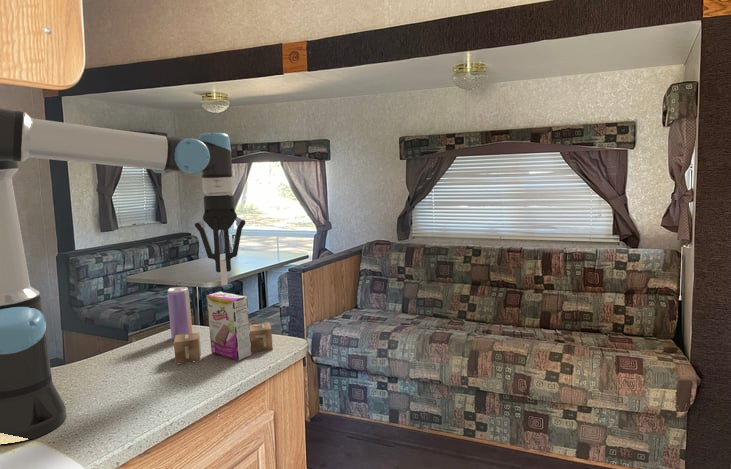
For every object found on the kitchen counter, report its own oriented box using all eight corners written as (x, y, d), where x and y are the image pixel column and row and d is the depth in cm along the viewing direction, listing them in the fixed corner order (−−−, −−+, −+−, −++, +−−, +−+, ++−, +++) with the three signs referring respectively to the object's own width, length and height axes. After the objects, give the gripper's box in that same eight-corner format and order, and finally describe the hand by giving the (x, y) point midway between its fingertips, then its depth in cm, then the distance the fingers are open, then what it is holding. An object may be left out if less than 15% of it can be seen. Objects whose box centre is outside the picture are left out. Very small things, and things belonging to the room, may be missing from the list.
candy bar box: (210, 353, 147) (205, 295, 144) (224, 348, 151) (220, 290, 148) (238, 361, 140) (233, 300, 138) (252, 355, 144) (248, 295, 142)
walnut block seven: (250, 353, 147) (248, 331, 146) (249, 345, 153) (247, 324, 152) (272, 350, 148) (271, 328, 147) (271, 342, 154) (269, 321, 153)
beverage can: (180, 343, 157) (175, 292, 154) (167, 339, 160) (162, 290, 158) (197, 336, 162) (192, 287, 159) (183, 333, 165) (179, 285, 163)
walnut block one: (175, 364, 140) (173, 341, 139) (177, 356, 146) (175, 334, 145) (199, 361, 142) (197, 339, 141) (201, 353, 148) (199, 331, 147)
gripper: (191, 196, 134) (197, 289, 138) (244, 193, 137) (250, 285, 141) (192, 194, 141) (199, 282, 145) (244, 192, 144) (249, 278, 148)
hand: (224, 283), depth 143 cm, fingers closed
